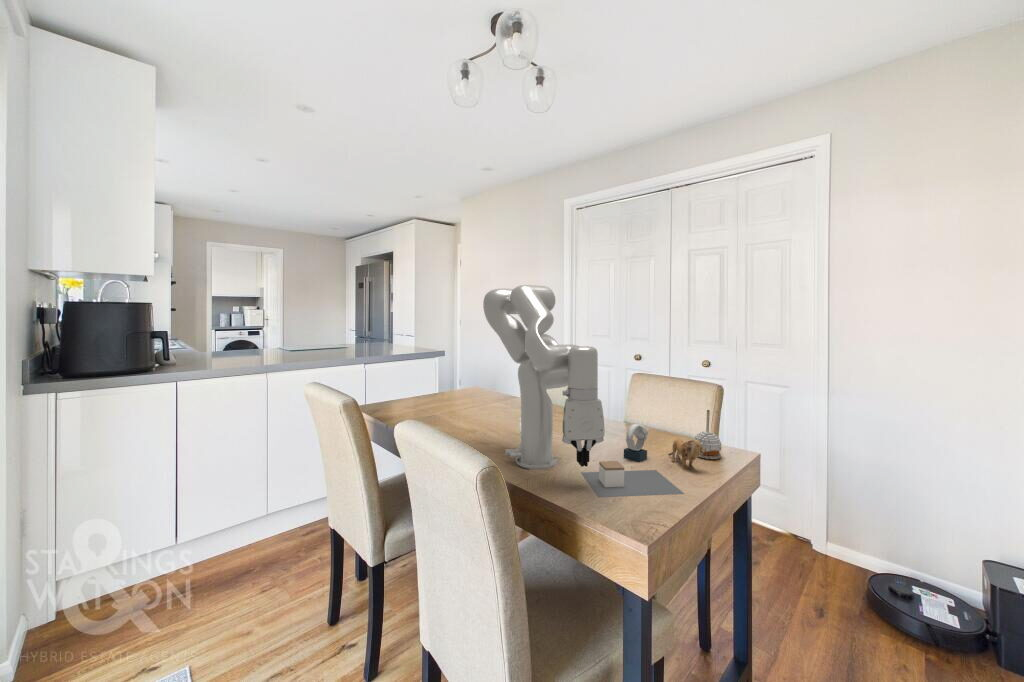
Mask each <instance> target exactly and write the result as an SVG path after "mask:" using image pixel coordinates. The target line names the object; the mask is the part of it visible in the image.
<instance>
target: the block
mask: <svg viewBox="0 0 1024 682" xmlns="http://www.w3.org/2000/svg"><path fill="white" fill-rule="evenodd" d="M598 466H599V467H598V470H599V471H598V472H599V480H600V482H601V483H602V484H603V485H604V487H624V471H625V467H624V466H623V465H622V464H621V462H619V461H618V460H606V461H605V460H603V461H601V460H600V461H599V463H598Z"/></svg>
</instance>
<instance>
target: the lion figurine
mask: <svg viewBox="0 0 1024 682" xmlns="http://www.w3.org/2000/svg"><path fill="white" fill-rule="evenodd" d="M704 451H705V448H703V447H702V446H701V445H700V443H699V441H697V440H688V441H685V442H683V440H681V439H678V438H677V439H675V440H673V443H672V452H670V453H668V455H667V456H671V462H672V463H676V459H678V460H679V459H681V460H682V461H681V462H682V465H681V466H682V467H681V469H682V470H685V471H686V470H687V464H686V463H687V461H688V468H689V469H691V470H692V469H694V468H695V466H693V462H694V461H695V460H696V459H697V458H700V457H699V456H700V454H702V455H703V452H704ZM675 457H676V458H675Z"/></svg>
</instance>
